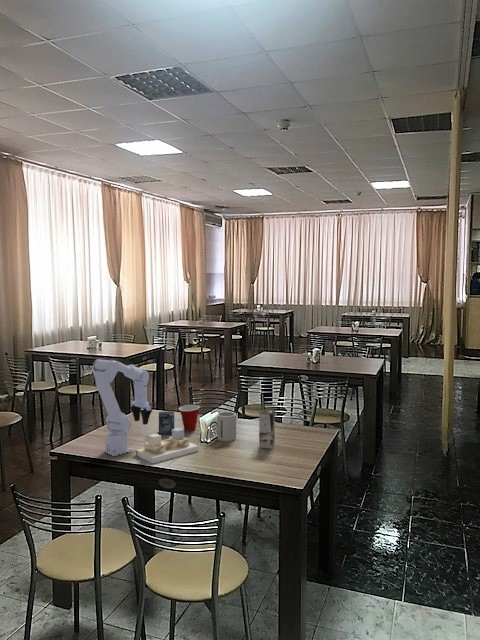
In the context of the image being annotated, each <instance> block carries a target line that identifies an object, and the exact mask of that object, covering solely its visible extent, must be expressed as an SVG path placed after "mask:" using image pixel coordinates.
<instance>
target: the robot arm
mask: <svg viewBox="0 0 480 640" xmlns="http://www.w3.org/2000/svg"><path fill="white" fill-rule="evenodd" d="M91 372H92V373H93V376H94V379H95V380H94V381H95V386H96V388H97V391H98V393H99V396H100V398H101V400H102V402H103V406H104V408H105V410H106V413H107V414H108V415H107V416H106V418H105V423H106V429H107V430H108V432H109V434H107V435H106V436H105V438H104V453H105V452H106V454H107V453H108V454H107V455H109V454H110V456H111V455H112V456H111V457H115V456H120V455H124V454H127V453H126V452H128V453H131V452H132V450H131V449H129V448H128V433H129V432H130V430H131V427H132V422H131V421H132V420H130V418H128V416H127V415H126V414H125V413H124V412H123V411H122V410H121V408H120V406H119V403H118V401H117V399H116V395H115V393H114V390H113V388H112V386H111V383H112V382H113V381H114V379H115V377H116V376H117V373H118V372H120V373H123V375H124V377H126V378H129V379H131V380H132V381H133V382H134V383H133V385H134V386H133V387H134V400H131V401H130V402H131V404H130V405H131V406H130V407H129V409H130V411H131V412H132V416H133V419H134V422H139V421H140V420H141V419H142V421H141V422H142V424H143V425H144V426H145V425H148V423H149V419H150V416H151V414H152V412H153V409H152V405H150V402H148V395H147V394H148V393H147V392H148V390H147V389H148V388H147V385H148V383H149V379H150V374H149V372H148V371H147V370H146V369H142V368H141V367H138V366H137V367H136V366H135V364H133V363H132V364H128V365H127V364H124V363H122V362H120V361H118V360H114V359H113V360H111V359H109V360H108V359H100V358H97V359H95V360H94V362H93V364H92V368H91ZM140 418H141V419H140ZM130 451H131V452H130ZM123 453H124V454H123ZM119 454H120V455H119Z"/></svg>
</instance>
